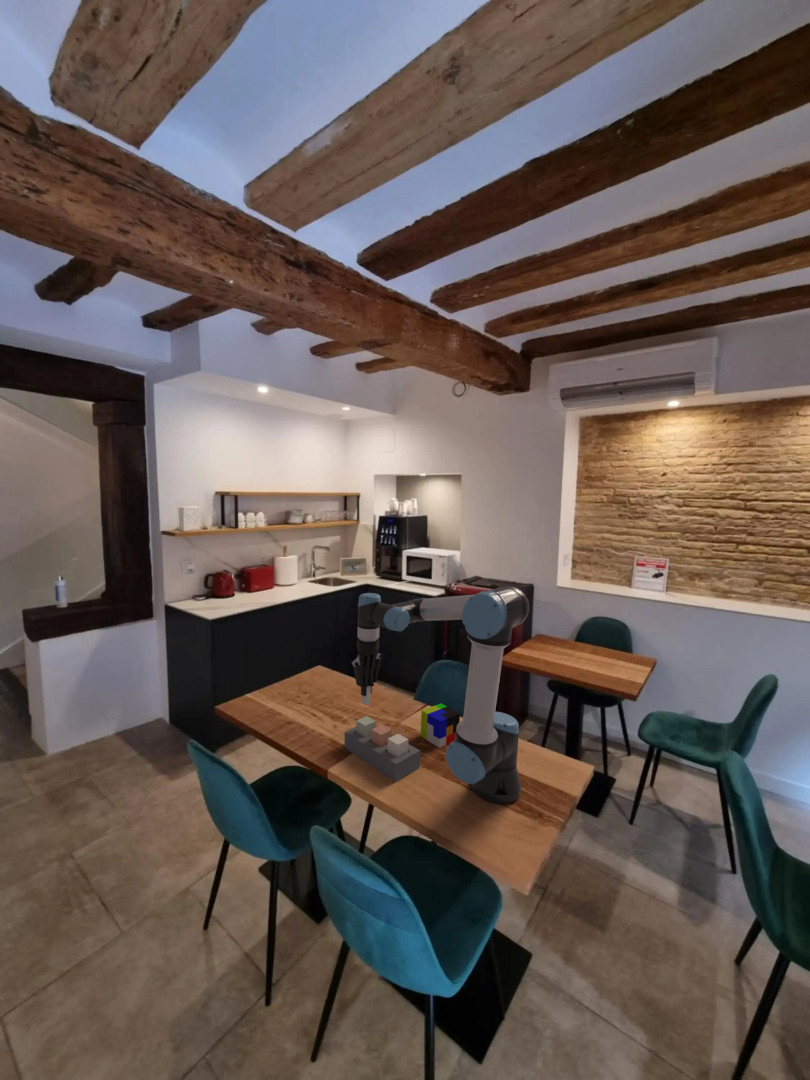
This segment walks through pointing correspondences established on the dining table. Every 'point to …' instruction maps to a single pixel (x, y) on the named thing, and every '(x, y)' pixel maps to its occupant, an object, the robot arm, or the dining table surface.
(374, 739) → the key terracotta
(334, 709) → the dining table surface
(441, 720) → the puzzle toy
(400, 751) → the key ivory
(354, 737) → the console
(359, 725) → the key sage
